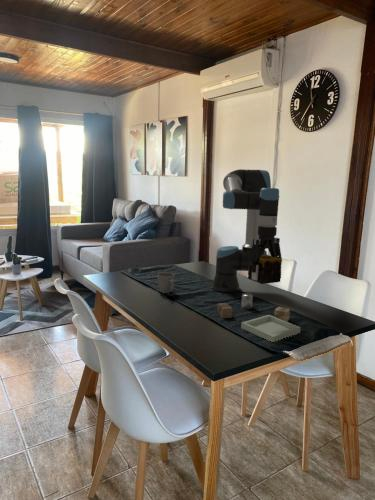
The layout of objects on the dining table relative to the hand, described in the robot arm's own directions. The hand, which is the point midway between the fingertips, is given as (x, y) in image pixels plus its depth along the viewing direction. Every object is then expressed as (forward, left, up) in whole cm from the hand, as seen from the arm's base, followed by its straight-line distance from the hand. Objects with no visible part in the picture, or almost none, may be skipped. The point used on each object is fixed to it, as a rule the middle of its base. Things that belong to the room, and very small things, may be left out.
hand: (263, 278), depth 155 cm
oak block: (+4, +8, -19) cm, 21 cm away
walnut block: (-14, -9, -19) cm, 25 cm away
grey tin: (-16, +7, -19) cm, 26 cm away
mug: (-54, -13, -19) cm, 58 cm away
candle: (0, 0, -1) cm, 1 cm away
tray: (+9, -5, -19) cm, 22 cm away
